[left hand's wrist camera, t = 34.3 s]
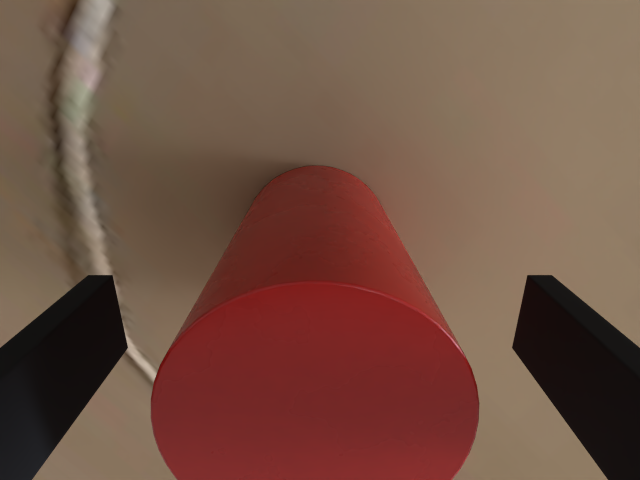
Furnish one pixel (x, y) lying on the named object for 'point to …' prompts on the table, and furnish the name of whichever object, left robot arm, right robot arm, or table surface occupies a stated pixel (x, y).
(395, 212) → the table surface
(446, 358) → the canister
